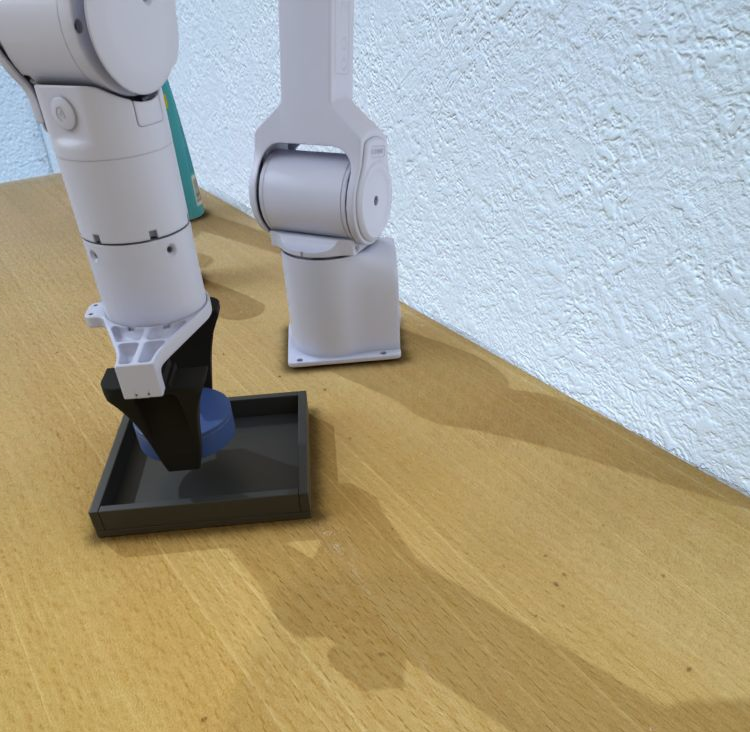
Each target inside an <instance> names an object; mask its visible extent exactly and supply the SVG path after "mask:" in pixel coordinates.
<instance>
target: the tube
mask: <svg viewBox="0 0 750 732" xmlns="http://www.w3.org/2000/svg"><path fill="white" fill-rule="evenodd" d="M172 91H173V90H172V88H171V85H170V82H169V78H168V79H167V80H166V82H165V83H164V84H163V86H162V92H163V96H164V101H165V106H166V111H167V115H168V120H169V125H170V129H171V134H172V139H173V144H174V149H175V153H176V158H177V163H178V167H179V172H180V177H181V182H182V186H183V191H184V196H185V200H186V205H187V210H188V214H189V219H190V221H191V220H195V219H198V218H200V217H202V216H203V215H204V214H205V208H204V204H203V199H202V195H201V191H200V188H199V184H198V179H197V175H196V172H195V169H194V164H193V160H192V157H191V153H190V149H189V145H188V142H187V137H186V135H185V132H184V128H183V124H182V120H181V117H180V114H179V111H178V107H177V104H176V101H175V98H174V94H173V92H172Z"/></svg>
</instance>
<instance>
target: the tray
mask: <svg viewBox="0 0 750 732" xmlns="http://www.w3.org/2000/svg"><path fill="white" fill-rule="evenodd" d="M227 398H228V399H229V401H230V404H231V408H232V413H233V418H234V422H235V433H234V436H233V438H232V439H231V440H230V442H229V443H228V444H227V445H226V446H224V447H223V448H222V449H220V450H219V451H217V452H215V453H214V454H211V455H209V456H207V457H204V458H202V460H201V467H200V468H199V469H194V470H183V471H172V472H169V471H168V470H167V469H166V468H165V466H164V465H163V464H162V462H161V461H158V460H155V459H152V458H150V457H149V456H147V455H146V454H145V453H144V452H143V451H142V449H141V447H140V444H139V441H138V438H137V435H136V432H135V429H134V426H133V422H132V421H131V420H130V419H129V418H128V417H127V416H126V415H125V414H124V413H123V415H122V418H121V420H120V424H119V426H118V429H117V432H116V434H115V437H114V440H113V442H112V445H111V448H110V452H109V454H108V457H107V459H106V463H105V465H104V468H103V471H102V473H101V476H100V479H99V481H98V485H97V486H96V487H97V488H96V491H95V493H94V495H93V499H92V501H91V503H90V507H89V510H88V516H89V518H90V521H91V523H92V525H93V528H94V530H95V533H96V536H97V537H98V538H104V537H105V538H106V537H116V536H126V535H127V536H128V535H137V534H150V533H157V532H158V533H159V532H160V533H161V532H169V531H181V530H192V529H202V528H212V527H224V526H234V525H244V524H256V523H266V522H276V521H288V520H299V519H309V518H312V516H313V515H312V483H311V482H312V481H311V438H310V437H311V436H310V410H309V403H308V394H307V390H299V391H298V390H294V391H283V392H282V391H281V392H272V393H261V394H260V393H259V394H248V395H247V394H246V395H237V396H227Z"/></svg>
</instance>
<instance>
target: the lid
mask: <svg viewBox="0 0 750 732" xmlns="http://www.w3.org/2000/svg"><path fill="white" fill-rule="evenodd" d="M227 397H228V396H227V395H226V394H224V393H223V392H221V391H219V390H217V389H214V388H213V389H210V388H204V387H203V390H202V393H201V399H200V425H201V436H202V458H204V457H207V456H209V455H211V454H214V453H215V452H217V451H219V450H220V449H222V448H223V447H224V446H226V445H227V444H228V443H229V442H230V440H231V439H232V438H233V436H234V433H235V422H234V418H233V413H232V408H231V404H230V401H229V399H228V398H227ZM133 426H134V429H135V432H136V435H137V438H138V441H139V444H140V447H141V449H142V451H143V452H144V453H145V454H146V455H147V456H149V457H150V458H152V459H155V460H158V461H160V459H159V458H158V456H157V455H156V453H155V451H154V450H153V448H152V447H151V445H150V444H149V442H148V441H147V439H146V438H145V436H144V435H143V433H142V432H141V431H140V430H139V428H138V427H137V426H136V425H135V424H134V423H133Z"/></svg>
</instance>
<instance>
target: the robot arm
mask: <svg viewBox="0 0 750 732" xmlns="http://www.w3.org/2000/svg"><path fill="white" fill-rule="evenodd" d="M176 2H177V0H0V66H1V67H2V68H3V69H4V71H5V72H6V73H7V74H8V75H9V76H10V77H11V78H12V79H13V80H14V81H15V82H16V83H17V84H18V85H19V86H20V87H21V89H22V90H23V92H24V93H25V95H26V97H27V99H28V101H29V103H30V106H31V109H32V112H33V115H34V118H35V121H36V124H41V125H42V129H43V130H44V132H45V133H47V134H48V137H49V139H50V142H51V146H52V149H53V151H54V155H55V158H56V161H57V165H58V167H59V171H60V174H61V177H62V181H63V184H64V186H65V190H66V192H67V193H66V194H67V195H68V199H69V203H70V207H71V209H72V212H73V215H74V218H75V222H76V224H77V225H76V226H77V228H78V231H79V235H80V236H81V237H80V238H81V240H82V243H83V246H84V249H85V253H86V256H87V259H88V263H89V266H90V269H91V273H92V275H93V278H94V282H95V285H96V288H97V291H98V295H99V297H100V301H101V302H100V301H99V302H94V303H91V304H90V305H89V306H88V308H87V309H86V312H85V313H84V319H85V322H86V326H87V327H89V328H93V329H96V328H104V329H105V330H107V334H108V336H109V339H110V342H111V344H112V347H113V349H114V352H115V355H116V360H115V363H114V367H107V368H106V369H105V372H104V374H103V376H102V378H101V381H100V384H99V385H100V387H101V391H102V393H103V396H104V398H105V400H106V402H107V403H108V404H110V405H112V406H113V407H115V408H116V409H117V410H118V411H120V412H121V413H123V415H124V414H125V415H126V416H127V417H128V418H129V419H130V420H131V421H132V422H133V423H134V424H135V425H136V426H137V427H138V428H139V430H140V431H141V432H142V433H143V435H144V436H145V438H146V439H147V441H148V442H149V444H150V445H151V447H152V448H153V450H154V451H155V453H156V455H157V456H158V458H159V459H160V461H161V462H162V464H163V465H164V466H165V468H166V469H167V470H168V471H169V472H172V471H183V470H194V469H199V468H200V467H201V460H202V436H201V425H200V399H201V393H202V390H203V387H204V388H210V389H214V388H213V387H214V386H213V385H214V383H213V344H214V343H213V342H214V333H215V329H216V325H217V322H218V319H219V316H220V311H221V303H220V300H219V299H218V298H217V297H214V296H210V295H209V293H208V291H207V290H206V289H205V285H204V280H203V275H202V271H201V266H200V261H199V256H198V252H197V247H196V243H195V238H194V232H193V229H192V224H191V220H190V219H189V214H188V210H187V205H186V200H185V196H184V191H183V186H182V182H181V177H180V172H179V167H178V163H177V158H176V153H175V149H174V144H173V139H172V134H171V129H170V125H169V120H168V115H167V111H166V106H165V101H164V96H163V92H162V86H163V84H164V83H165V82H166V80H167V79H168V80H169V77H170V75H171V73H172V71H173V70H172V69H173V68H174V67H175V65H176V64H177V63H178V56H179V47H180V46H179V45H180V38H179V36H180V35H179V23H178V17H177V9H176V8H177V7H176ZM277 3H278V5H277V6H278V7H277V8H278V10H277V11H278V38H279V39H278V42H279V43H278V45H279V78H280V80H279V81H280V101H279V103H278V104H277V105H276V107H275V108H274V109H273V110H272V111H271V112H270V113H269V114H267V116H266V117H265V118H264V119H263V120H262V121H261V123H259V125H257V127H256V129H254V132H253V141H254V153H253V161H252V168H251V171H250V174H249V180H248V201H249V205H250V209H251V211H252V214H253V217H254V219H255V221H256V223H257V225H258V227H260V228H261V230H263V231H264V232H266V233H267V234H269V235H270V242H271V246H272V247H277V248H279V249H280V256H281V264H282V271H283V277H284V284H285V285H284V287H285V293H286V301H287V309H288V315H289V323H288V336H287V337H288V338H287V339H288V343H287V344H288V345H287V365H288V367H290V368H303V367H316V366H328V365H329V366H330V365H341V364H350V363H363V362H375V361H385V360H386V361H387V360H397V359H400V358H401V357H402V350H401V329H400V327H401V325H402V312H401V311H402V310H401V304H400V291H399V288H400V287H399V286H400V285H399V271H398V269H399V268H398V258H397V250H396V244H395V241H394V240H395V239H394V238H393V237H390V236H382V237H381V235H382V234H383V232H384V231H385V230H386V227H387V224H388V222H389V219H390V216H391V215H390V214H391V211H392V205H393V203H392V202H393V186H392V179H391V175H390V170H389V158H388V138H387V136H386V134H385V133H384V132H383V131H382V129H381V128H380V127H379V126H378V125H377V124H376V123H375V122H374V121H372V120H371V119H370V118H369V116H367V114H365V113H364V111H362V110H361V109H360V107H358V105H356V103H355V102H354V100H353V90H354V89H353V84H354V83H353V81H354V31H355V30H354V29H355V28H354V25H355V24H354V19H355V0H277ZM301 145H307V146H321V147H333V148H336V149H339V150H340V151H342V152H343V153H342V152H330V151H315V150H302V149H298V147H299V146H301Z"/></svg>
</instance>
